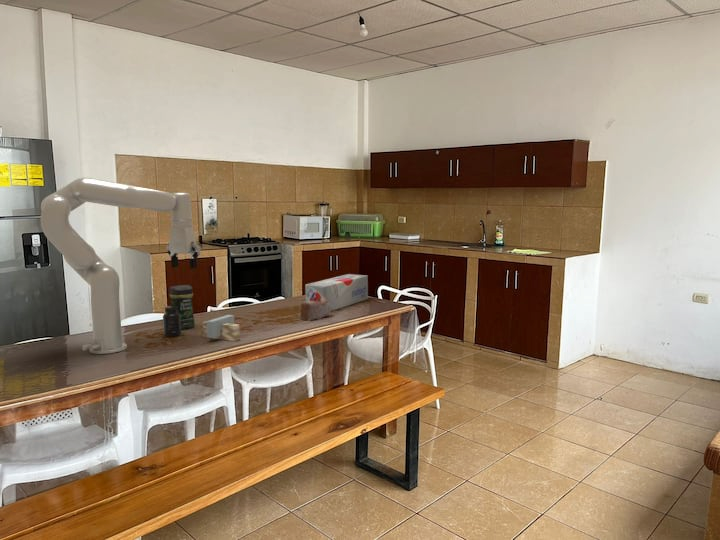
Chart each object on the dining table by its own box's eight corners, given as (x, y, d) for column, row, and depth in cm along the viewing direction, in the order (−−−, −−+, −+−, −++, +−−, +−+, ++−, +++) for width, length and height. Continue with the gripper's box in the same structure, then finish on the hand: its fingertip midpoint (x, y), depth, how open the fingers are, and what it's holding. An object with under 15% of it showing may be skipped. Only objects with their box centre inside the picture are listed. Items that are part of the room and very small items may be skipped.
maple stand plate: (239, 339, 218) (239, 324, 217) (234, 341, 215) (234, 326, 214) (208, 335, 225) (207, 320, 224) (203, 336, 222) (202, 322, 221)
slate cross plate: (212, 338, 213) (212, 321, 212) (206, 337, 214) (206, 321, 214) (234, 330, 225) (234, 315, 224) (228, 330, 226) (228, 314, 225)
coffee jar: (176, 331, 232) (173, 287, 229) (168, 327, 238) (166, 285, 235) (197, 327, 238) (195, 285, 236) (189, 324, 244) (187, 283, 242)
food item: (319, 314, 263) (319, 294, 262) (331, 316, 258) (331, 295, 257) (299, 319, 253) (298, 298, 251) (311, 321, 248) (311, 300, 246)
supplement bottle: (163, 334, 226) (161, 305, 225) (180, 332, 229) (179, 304, 227) (164, 338, 220) (162, 308, 219) (182, 336, 223) (180, 307, 221)
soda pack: (349, 297, 307) (349, 273, 305) (369, 300, 300) (368, 274, 298) (304, 310, 273) (303, 283, 271) (325, 313, 266) (325, 285, 264)
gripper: (158, 224, 215) (160, 267, 218) (192, 225, 208) (194, 270, 210) (172, 223, 222) (174, 265, 224) (205, 224, 215) (207, 267, 217)
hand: (184, 267), depth 217 cm, fingers open, 9 cm apart
